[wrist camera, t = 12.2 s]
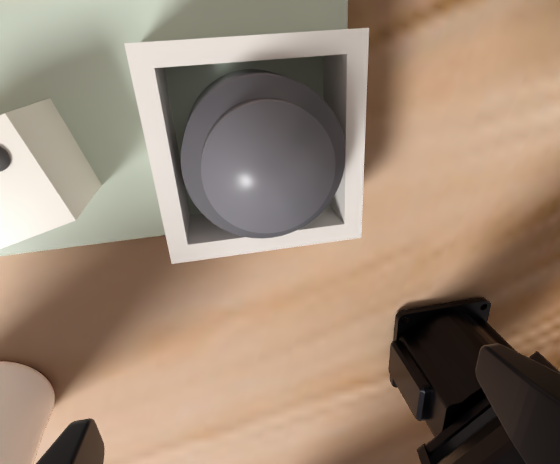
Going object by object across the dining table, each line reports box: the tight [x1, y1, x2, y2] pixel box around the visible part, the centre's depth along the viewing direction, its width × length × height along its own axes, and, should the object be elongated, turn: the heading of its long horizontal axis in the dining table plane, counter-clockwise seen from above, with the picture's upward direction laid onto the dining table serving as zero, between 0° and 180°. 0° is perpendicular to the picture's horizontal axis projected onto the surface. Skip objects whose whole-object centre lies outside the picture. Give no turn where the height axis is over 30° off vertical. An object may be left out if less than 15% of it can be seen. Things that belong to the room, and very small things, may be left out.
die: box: [0, 98, 102, 249], centre depth 15 cm, size 4×4×4 cm
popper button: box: [181, 69, 346, 239], centre depth 15 cm, size 6×6×5 cm
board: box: [0, 0, 369, 264], centre depth 14 cm, size 18×16×4 cm
